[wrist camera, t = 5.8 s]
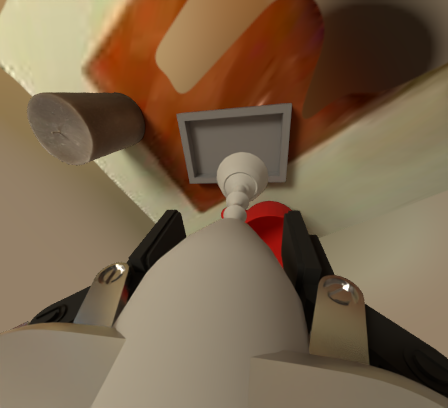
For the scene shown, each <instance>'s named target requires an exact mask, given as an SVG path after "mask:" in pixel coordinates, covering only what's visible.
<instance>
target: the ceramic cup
mask: <svg viewBox="0 0 448 408" xmlns="http://www.w3.org/2000/svg"><path fill="white" fill-rule="evenodd" d="M226 208H227V207H226ZM226 208H225V209H226ZM225 209H223V211H222V213H221V217H222V219H224V216H223V214H224V211H225ZM245 211H246V213H247V218H246V221H245V223H247V224H248V225H249V226H250V227H251V228H252V229H253V230H254V231H255V232H256V233H257V234H258V236H259V237H260V238H261V239H262V240H263V241H264V242H265V243H266V244H267V245H268V246H269V247H270V248H271V250H272V252H273V253H274V255H275V257H276V258H277V260H278V261H279V263H280V265H281V266H282V268H283V263H282V257H281V246H282V234H283V223H284V214H285V213H288V211H292V210H291V209H290V208H289V207H287V206H285V205H284V204H281V203H279V202H274V201H265V202H261V203H257V204H256V205H254V206H252V207H251V208H250V209H249V210H245Z"/></svg>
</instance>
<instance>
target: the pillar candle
mask: <svg viewBox="0 0 448 408" xmlns="http://www.w3.org/2000/svg"><path fill="white" fill-rule="evenodd" d="M27 113H28V120H29V123H30V126H31V128H32V130H33V132H34V134H35V136H36V138H37V139H38V140H39V142H40V143H41V145H42V147H43V148H45V149H46V150H47V151H48V152H49V153H50V154H51V155H53V156H54V157H56V158H58V159H59V160H61V161H62V162H66V163H67V164H72V165H82V164H85V163H87V162H90V161H92V160H95V159H98V158H100V157H102V156H106V155H108V154H111V153H113V152H116V151H119V150H121V149H124V148H126V147H129V146H131V145H134V144H136V143H138V142H139V141H140V140H141V139H142V138H143V135H144V132H145V122H144V118H143V115H142V112H141V110H140V108H139V107H138V106H137V104H136V103H135V102H134V101H133V100H131V98H129V97H128V96H126V95H124V94H121V93H116V92H114V93H39V94H37V95H34V96H33V97H32V98H31V99H30V101H29V104H28V109H27Z"/></svg>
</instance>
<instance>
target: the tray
mask: <svg viewBox="0 0 448 408" xmlns="http://www.w3.org/2000/svg"><path fill="white" fill-rule="evenodd" d="M291 110H292V103H283V104H273V105H262V106H251V107H240V108H230V109H219V110H208V111H198V112H187V113H180V114H177V119H178V124H179V129H180V135H181V140H182V145H183V150H184V155H185V161H186V166H187V171H188V176H189V181H190V183H218V182H217V170H218V168H219V165H220V164H221V162H222V161H223V160H224V159H225V158H226V157H228V156H230V155H231V154H234V153H239V152H245V153H251V154H253V155H255V156H257V157H258V158H259V159H261V160H262V161H263V162H264V164H265V166H266V168H267V170H268V182H286V172H287V160H288V147H289V135H290V122H291Z"/></svg>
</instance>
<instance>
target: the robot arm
mask: <svg viewBox="0 0 448 408" xmlns="http://www.w3.org/2000/svg"><path fill="white" fill-rule="evenodd" d="M185 238H186V233H185V229H184V225H183V220H182V216H181V213H180V212H178V211H177V210H167V211H166V212H165V213H164V214H163V216H162V217H161V218H160V219H159V221H158V222H157V223H156V224H155V226H154V227H153V228H152V229H151V231H150V232H149V233H148V234H147V236H146V237H145V238H144V239H143V241H142V242H141V243H140V244H139V246H138V247H137V248H136V249H135V250H134V252H133V253H132V254H131V256H130V257H129V260H128V262H127V263H124V262H116V263H113V264H111V265H108V266H107V267H105V268H103V269H102V270H101V271H100V272H99V273H98V274H97V275H96V277H95V279H94V281H93V283H92V285H91V286H89V287H87V288H85V289H83V290H81V291H79V292H77V293H75V294H73V295H71V296H69V297H67V298H65V299H63V300H61V301H58V302H56V303H54V304H52V305H50V306H49V307H47V308H45V309H44V310H42V311H41V312H40V313H39V314H37V315H36V316H35V317H34V318H33V319H32V321H31V322H30V323H29V322H28V321H27V322H25V323H23V324H21V325H19V326H17V327H15V328H13V329H11V330H8V331H5V332H2V333H0V408H91V406H92V404H93V402H94V401H95V399H96V397H97V395H98V393H99V391H100V389H101V387H102V385H103V383H104V381H105V379H106V378H107V376H108V374H109V372H110V370H111V368H112V366H113V364H114V362H115V360H116V358H117V356H118V355H119V353H120V351H121V349H122V347H123V345H124V343H125V341H126V338H125V337H124V336H123V335H122V334H121V333H120V332H119V331H117V330H116V328H112V326H113V325H114V323H115V322H116V320H117V319H118V317H119V315H120V314H121V312H122V311H123V309H124V307H125V306H126V304H127V303H128V301H129V300H130V298H131V296H132V295H133V293H134V292H135V290H136V288H137V287H138V285H139V284H140V282H141V281H142V279H143V277H144V276H145V274H146V273H147V272H148V271H149V270H150V268H151V267H152V266H153V265H154V264H155V263H156V262H157V261H158V260H159V259H160V258H161V257H162V256H164V255H165V254H166V253H167V252H169V251H170V250H171V249H173V248H174V247H175V246H176V245H178V244H179V243H180V242H181V241H183V240H184V239H185ZM281 257H282V263H283V270H284V271H285V273H286V275H287V276H288V278H289V280H290V281H291V283H292V285H293V287H294V288H295V290H296V292H297V294H298V296H299V298H300V300H301V302H302V306H303V311H304V315H305V320H306V324H307V329H308V333H309V338H310V339H309V353H310V354H305V353H299V352H293V351H285V350H282V351H280V352H277V353H269V354H263V355H258V356H253V357H250V372H249V391H248V408H448V359H447V358H446V357H445V356H444V355H442V354H441V353H439V352H438V351H437V350H436V349H434V348H433V347H431V346H430V345H428V344H426V343H425V342H423V341H422V340H420V339H419V338H417V337H416V336H414V335H412V334H411V333H409V332H408V331H406V330H405V329H403V328H402V327H400V326H399V325H397V324H396V323H394V322H392V321H391V320H389V319H388V318H386V317H385V316H383V315H381V314H380V313H378V312H377V311H375V310H374V309H372V308H370V307H369V306H368V305H366V304H365V302H364V297H363V293H362V292H361V290H360V289H359V288H358V287H357V286H356V285H355V284H354V283H353V282H351V281H350V280H348V279H346V278H343V277H341V276H336V275H334V272H333V270H332V268H331V266H330V264H329V261H328V259H327V257H326V254H325V252H324V250H323V247H322V246H321V243H320V241H319V238H318V237H317V235H309V234H308V231H307V229H306V226H305V224H304V221H303V218H302V216H301V213H300V211H288V213H285V214H284V223H283V234H282V246H281Z"/></svg>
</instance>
